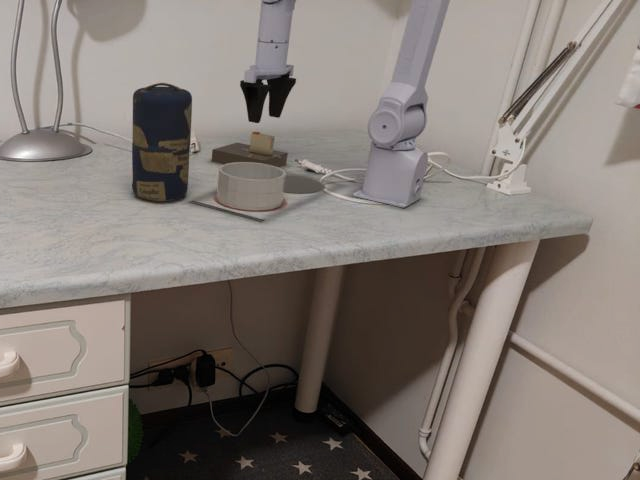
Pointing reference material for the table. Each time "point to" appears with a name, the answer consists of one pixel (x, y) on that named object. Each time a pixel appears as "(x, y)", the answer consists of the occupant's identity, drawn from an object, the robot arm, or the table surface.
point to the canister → (161, 142)
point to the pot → (250, 186)
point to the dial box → (246, 155)
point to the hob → (291, 186)
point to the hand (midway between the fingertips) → (264, 119)
